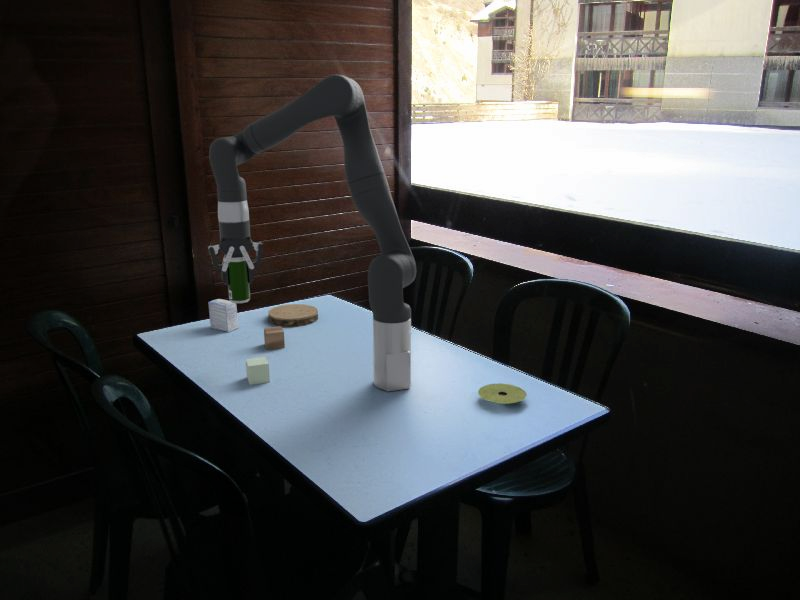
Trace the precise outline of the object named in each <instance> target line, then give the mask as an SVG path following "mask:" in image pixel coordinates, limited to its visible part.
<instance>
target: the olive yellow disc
mask: <svg viewBox="0 0 800 600" xmlns="http://www.w3.org/2000/svg"><path fill="white" fill-rule="evenodd" d="M477 393H478V396H479V397H480V398H481V399H483V400H485V401H488V402H492V403H494V404H495V403H496V404H504V405H505V404H516V403H519V402H522V401H523V400H525V399H526V398H527V396H528V395H527V392H526V390H524V389H522V388H521V387H519V386H516V385H513V384H509V383H508V384H507V383H501V382H500V383H490V384H489V383H488V384H486V385H483V386H481V387H480V388H479V389H478V391H477Z"/></svg>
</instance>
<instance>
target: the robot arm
mask: <svg viewBox="0 0 800 600" xmlns="http://www.w3.org/2000/svg"><path fill="white" fill-rule="evenodd" d="M328 117H333V118H334V119H335V122H336V125H337V127H338V130H339V134H340V136H341V139H342V144H343V145H342V146H343V158H344V159H343V164H344V165H343V166H344V176H345V179H346V184H347V187H348V190H349V195H350V197H351V200H352V203H353V204H354V206H355V209H356V210H357V212H358V213H359V214H360V216H361V217H362V219H364V221H365V222H366V223H367V225H368V226H369V227H370V228H371V230H372V232H373V234H374V235H375V237H376V240H377V243H378V246H379V250H380V253H381V254H380V255H378V256H376V257H374V258H372V261H371V262H370V264H369V267H368V271H367V285H368V289H367V290H368V302H369V307H370V309H371V311H372V326H373V327H372V338H373V339H372V342H373V344H372V345H373V347H372V349H373V352H372V353H373V358H372V359H373V360H372V363H373V385H374V386H375V387H376V388H378V389H380V390H384V391H385V392H387V393H388V392H395V391H402V390H406V389H407V390H408V389H411V384H412V381H411V380H412V379H411V378H412V376H411V375H412V370H411V369H412V365H411V364H412V361H411V360H412V359H411V358H412V357H411V356H412V351H411V350H412V347H411V346H412V308H411V306H410V305H409V304H408V303H405V302H404V289H405V288H407V287H408V286H410V285H411V284H412V283H413V282H414V281H415V279H416V277H417V265H416V260H415V257H414V255H413V253H412V252H413V251H412V250H411V248H410V245H409V243H408V241H407V237H406V235H405V233H404V231H403V228H402V226H401V222H400V219H399V215H398V212H397V208H396V206H395V203H394V199H393V196H392V193H391V189H390V185H389V182H388V179H387V176H386V172H385V169H384V167H383V164H382V161H381V160H382V159H381V157H380V155H379V151H378V148H377V146H376V142H375V139H374V136H373V134H372V131H371V126H370V122H369V117H368V112H367V106H366V101H365V97H364V92H363V89H362V88H361V86H360V85H359V84H358V82H357V81H355V80H354V79H353V78H350V77H348V76H346V75H343V74H338V73H336V74H329V75H327V76H325V77H324V78H323V79H321V80H320V81H319V82H317V83H316V84H315V85H314V86H312V87H311V88H310V89H308V90H307V91H306V92H304V93H303V94H302V95H300V96H298V97H297V98H296V99H294V100H293V101H291V102H289V103H287V104H286V105H285V106H283V107H281V108H279V109H277V110H275V111H273V112H272V113H269V114H267V115H265V116H263V117H261V118H260V119H257V120H256V121H255V120H254V122H252V123H250V124H248V125H246V126H245V128H244V129H243V131H242V130H241V131H240V132H239V133H237V134H235V135H232V136H226V137H225V136H224V137H217V138H215V139H214V140H213V141H212V142H211V144H210V146H209V153H208V159H209V163H210V167H211V168H210V169H211V170H212V175H213V178H214V180H215V182H216V187H217V188H216V193H217V218H218V227H219V229H218V230H219V242H218V244H216V245H208V246H207V248H208V249H207V250H208V251H209V252H208V253H209V256H210V259H211V262H212V265H213V269H214V270H216V271H217V270H218V271H221V282H222V283H223V284H224V285H225V286H228V285H229V283H228V271H227V267H228V264H229V262H230V260H231V259H230V258H231V257H240V256H243V257H244V258H245V260H246V262H247V264H248V272H249V284H253V282H254V281H255V269H256V268H257V267H261V265H262V259H263V255H264V254H263V253H264V252H263V251H264V243H262V242H261V241H260V242H255V241H253V240H252V238H251V228H250V227H251V225H250V212H249V205H248V197H247V196H248V195H247V185H246V180H245V179H244V178H243V177H242V176H240V174H239V170H238V166H240V165H242V164H244V163H246V162H248V161H249V160H251V159H253V158H254V157H255V156H257V155H259V154H260V153H262V152H265V151H268V150H269V149H271V148H273V147H275V146H278V145H280V144H281V143H283V142H285V141H286V140H288V139H289V138H291V137H292V136H294V134H296V133H297V132H299V130H301V129H302V128H304V127H305V126H308V125H310V124H311V123H313V122H316V121H319V120H322V119H325V118H328ZM252 248H253V250H255V252H256V253H255V257H254V258H255V259H254V261H252V260H251V258H250V255H249V252H250V251H251V249H252ZM219 250H221V252H222V253H223V254H224V256H223V259H222V263H221V264H220V263H219V262H218V258H217V254H218V253H219Z"/></svg>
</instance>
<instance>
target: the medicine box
mask: <svg viewBox="0 0 800 600" xmlns="http://www.w3.org/2000/svg"><path fill="white" fill-rule="evenodd" d="M237 307H238V306H237V303H232V302H231V301H230V300H226V299H222V298H217V299H213V300H211V301H208V313H209V324H210V328H211V329H215V330H217V331H218V330H219V331H223V332H226V333H227V332H228V333H230V332H233V331H235V330H238V329H239V319H238V309H237Z"/></svg>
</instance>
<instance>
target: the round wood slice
mask: <svg viewBox="0 0 800 600" xmlns="http://www.w3.org/2000/svg"><path fill="white" fill-rule="evenodd" d="M318 312H319V310H318V308H317V307H316V306H312V305H309V304H303V303H299V304H298V303H292V304H284V305H282V304H281V305H278V306H275V307H273V308H271V309H270V310H268V315H267V317H268V322H269V323H270V324H271V325H273V326H275V327H279V326H281V327H282V328H288V327H289V328H293V327H294V328H296V327H304V326H308V325H312V324H313V323H315V322H317V321H318V320H319V313H318Z"/></svg>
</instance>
